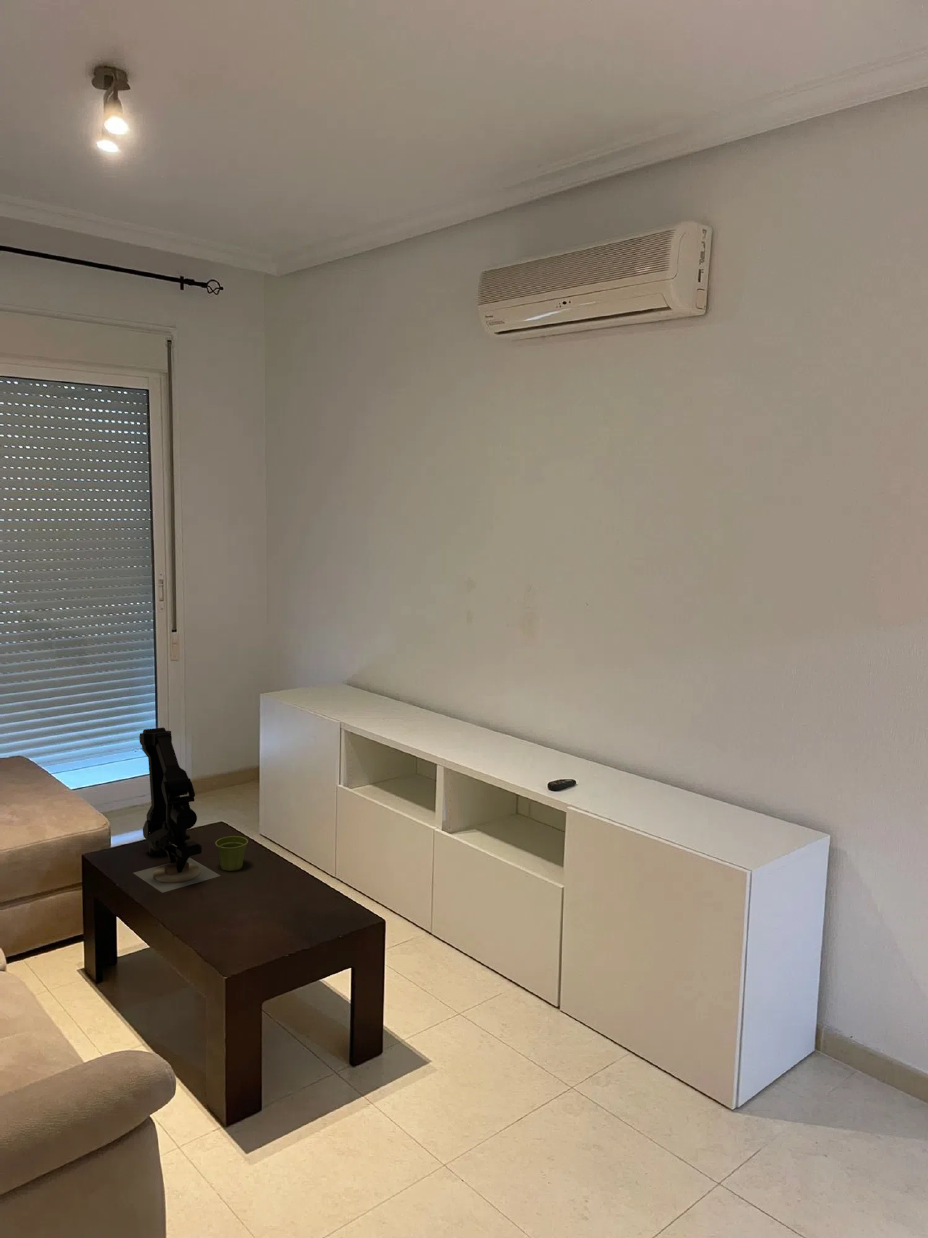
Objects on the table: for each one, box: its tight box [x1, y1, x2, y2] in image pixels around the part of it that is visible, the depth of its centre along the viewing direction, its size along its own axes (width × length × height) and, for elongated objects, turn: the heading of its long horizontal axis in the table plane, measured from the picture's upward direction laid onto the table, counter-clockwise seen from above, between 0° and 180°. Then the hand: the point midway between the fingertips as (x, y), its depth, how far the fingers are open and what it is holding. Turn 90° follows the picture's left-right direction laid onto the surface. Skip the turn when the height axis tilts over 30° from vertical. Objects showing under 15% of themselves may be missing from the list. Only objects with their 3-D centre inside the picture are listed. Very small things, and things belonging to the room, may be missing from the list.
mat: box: [133, 857, 221, 894], centre depth 262 cm, size 18×18×1 cm
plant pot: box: [214, 835, 249, 872], centre depth 269 cm, size 9×9×9 cm
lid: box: [153, 862, 200, 883], centre depth 262 cm, size 13×13×3 cm
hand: (176, 870), depth 262 cm, fingers closed on lid, 3 cm apart
